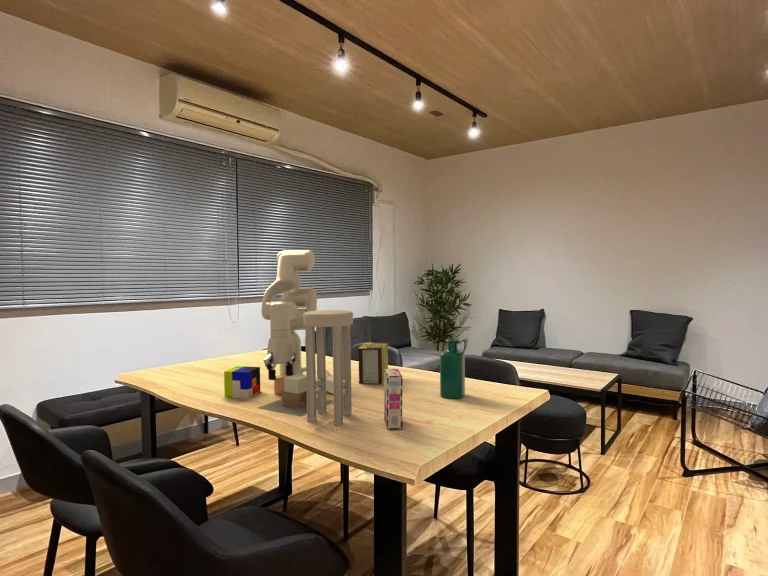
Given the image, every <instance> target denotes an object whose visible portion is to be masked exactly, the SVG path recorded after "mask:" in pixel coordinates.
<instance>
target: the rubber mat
mask: <svg viewBox="0 0 768 576" xmlns="http://www.w3.org/2000/svg"><path fill="white" fill-rule="evenodd" d="M331 404H334V399H333V400H331V399H327V398H326V407H327V406H329V405H331ZM257 409H259V410H260V409H261V410H265V411H271V412H275V413H281V414H285V415H292V416H296V417H303V416H305V415H306V416H307V406H304V407H302V408H299V409H298V408H292V407H287V406H283V398H281V399H278V400H276V401H273V402H270V403H266V404H264V405H262V406H259V407H257ZM316 411H318V402H317V397H316Z"/></svg>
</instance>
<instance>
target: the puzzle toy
mask: <svg viewBox="0 0 768 576" xmlns="http://www.w3.org/2000/svg"><path fill="white" fill-rule="evenodd" d="M223 380H224V381H223V382H224V383H223V384H224V398H237V397H241V398H242V399H249V398H251V397H253V396H255V395H256V393H257V392H258V393H260V392H261V367H260V366H243V365H242V366H237V365H236V366H234V367H232V368H230V369H227V370H224V372H223ZM259 391H260V392H259ZM258 393H257V394H258ZM254 394H255V395H254ZM252 395H253V396H252ZM241 398H240V399H241Z"/></svg>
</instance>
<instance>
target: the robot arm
mask: <svg viewBox="0 0 768 576" xmlns="http://www.w3.org/2000/svg"><path fill="white" fill-rule="evenodd" d="M276 263H277V270H276V271H277V272H276V278H275V281H273V283H271V284H270V286H268V287H267V289H266V290H265V292H264V294H263V296H262V300H261V301H262V302H261V315H262V318H263V319H264V320H266V321H270V325H269V326H270V337H269V338H268V343H267V348H266V349H267V352H266V357H265V358H263V363H264V366H265V367H266V369H267V372H268V374H267V375H268V380H269V381H274V380H276V376H277V375H276V374H277V373H276V369H275V368H276V366H277V365H279V375H288V376H292V375H295V374H299V375H304V372H305V373H306V366H305V367H302V339H301V338H300V336H299V334H298V333H297V332H296V331H305V325H304V313H305V312H309V311H318V309H317V307H318V305H317V304H318V295H317V292H316V290H315V288H313V287H307V286H306V287H302V279H301V276H300V275H299V274H298V272H310V271H311V270H312V269H313V267H314V265H315V254H314V252H313V250H311V249H290V250H289V249H286V250H281V251H279V252H278V253H277V255H276ZM280 294H281V301H272V300H273V299H274V298H275V297H277V296H279V295H280Z"/></svg>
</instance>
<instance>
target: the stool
mask: <svg viewBox="0 0 768 576" xmlns="http://www.w3.org/2000/svg"><path fill="white" fill-rule="evenodd" d="M304 325H305V330H304V331H305V367H306V371H305V375H306V384H307V414H306V421H307V422H309V423H315V422H316V421H317V414H325V413H326V412H327V406H326V399H327V392H326V370H327V369H326V363H327V362H326V328H331V327H332V328H331V329H332V370H333V371H332V374H333V387H334V394H333V401H334V403H333V425H335V426H338V425H339V426H342V425H343V424H344V416H345V417H346V416H347V417H351V415H352V412H353V411H352V406H353V405H352V404H353V403H352V349H351V347H352V346H351V342H352V341H351V325H354V313H353V312H352V311H351V310H346V309H345V310H344V309H339V310H338V309H326V310H325V309H324V310H323V309H321V310H320V309H319V310H317V311H309V312H305V313H304ZM316 398H317V402H318V409H317V410H316Z"/></svg>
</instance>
